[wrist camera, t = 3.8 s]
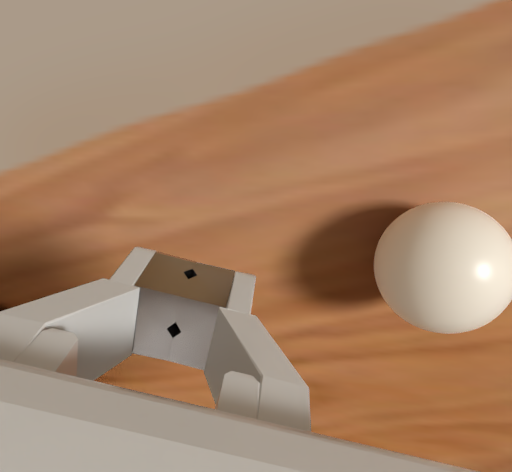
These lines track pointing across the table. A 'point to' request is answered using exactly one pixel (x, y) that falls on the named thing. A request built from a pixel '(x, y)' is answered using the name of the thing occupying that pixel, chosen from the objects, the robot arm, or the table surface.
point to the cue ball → (445, 267)
